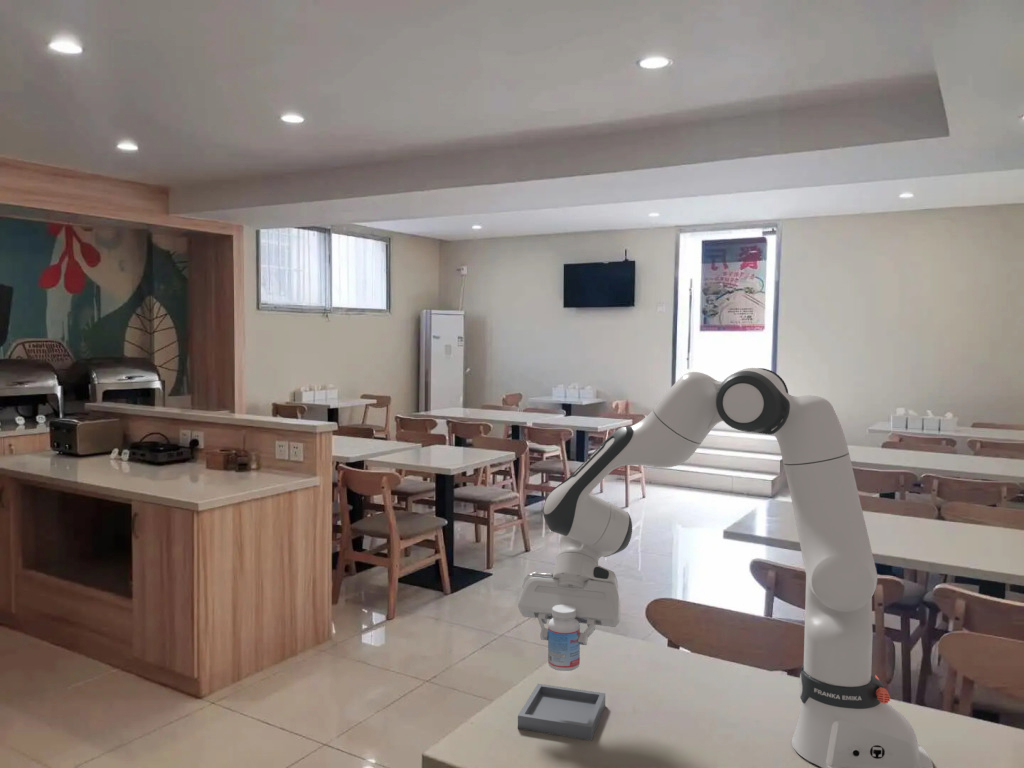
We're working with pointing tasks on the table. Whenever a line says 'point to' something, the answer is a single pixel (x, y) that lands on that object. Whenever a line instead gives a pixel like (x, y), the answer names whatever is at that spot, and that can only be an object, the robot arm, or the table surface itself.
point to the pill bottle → (563, 639)
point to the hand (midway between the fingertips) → (563, 641)
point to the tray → (562, 711)
